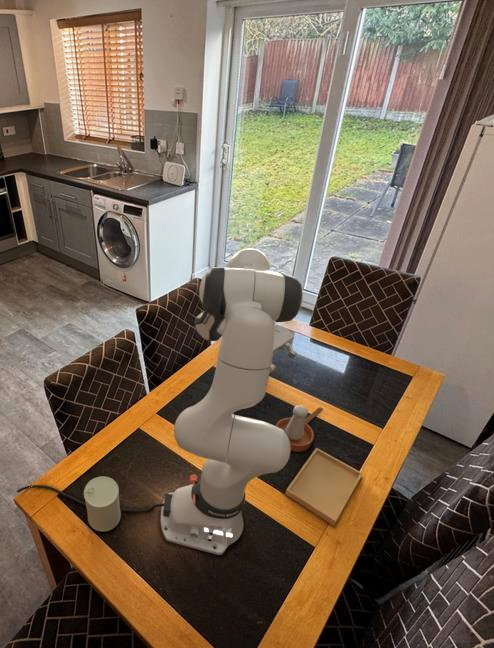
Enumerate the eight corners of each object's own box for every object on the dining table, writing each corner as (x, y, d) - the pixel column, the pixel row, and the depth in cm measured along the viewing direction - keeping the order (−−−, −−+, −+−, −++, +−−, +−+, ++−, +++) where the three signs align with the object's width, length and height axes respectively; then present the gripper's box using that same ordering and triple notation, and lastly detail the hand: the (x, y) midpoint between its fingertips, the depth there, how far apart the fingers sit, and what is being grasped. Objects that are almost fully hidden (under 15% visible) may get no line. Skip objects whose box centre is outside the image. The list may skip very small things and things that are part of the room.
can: (90, 500, 116) (86, 474, 109) (122, 500, 116) (120, 475, 109) (85, 531, 108) (80, 506, 101) (119, 532, 108) (117, 506, 101)
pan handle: (305, 426, 135) (305, 424, 134) (301, 423, 136) (302, 422, 135) (322, 410, 141) (323, 408, 140) (318, 408, 142) (319, 406, 141)
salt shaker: (302, 445, 131) (312, 417, 123) (284, 442, 132) (292, 414, 124) (300, 431, 135) (309, 403, 128) (283, 428, 136) (290, 401, 129)
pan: (277, 450, 129) (279, 444, 128) (271, 422, 139) (273, 416, 137) (315, 452, 128) (317, 446, 127) (306, 424, 138) (308, 418, 136)
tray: (333, 526, 109) (336, 521, 107) (284, 494, 117) (286, 489, 115) (360, 478, 121) (362, 473, 119) (314, 452, 129) (316, 447, 127)
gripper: (229, 343, 124) (263, 372, 117) (275, 316, 132) (309, 341, 125) (226, 356, 129) (258, 384, 121) (270, 329, 137) (303, 354, 129)
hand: (284, 362), depth 123 cm, fingers open, 8 cm apart
